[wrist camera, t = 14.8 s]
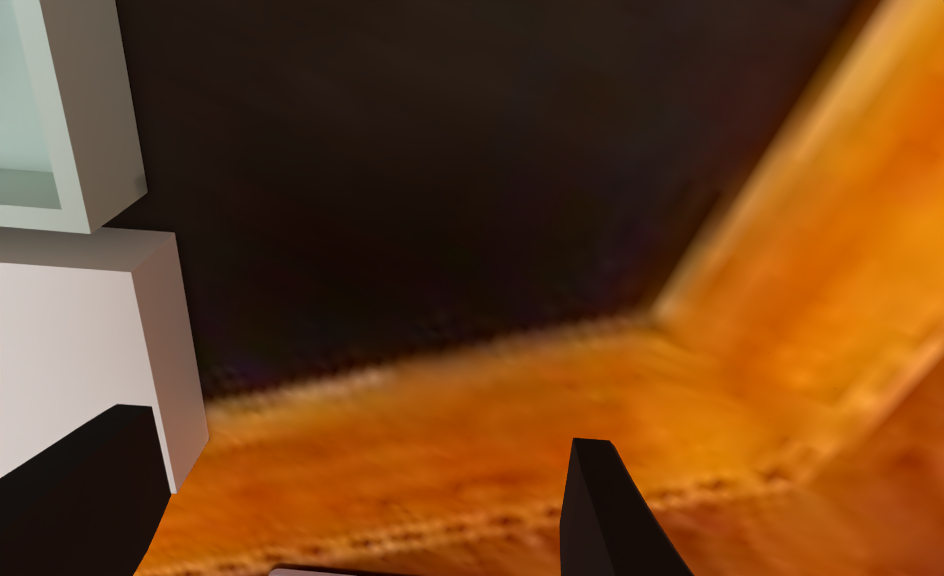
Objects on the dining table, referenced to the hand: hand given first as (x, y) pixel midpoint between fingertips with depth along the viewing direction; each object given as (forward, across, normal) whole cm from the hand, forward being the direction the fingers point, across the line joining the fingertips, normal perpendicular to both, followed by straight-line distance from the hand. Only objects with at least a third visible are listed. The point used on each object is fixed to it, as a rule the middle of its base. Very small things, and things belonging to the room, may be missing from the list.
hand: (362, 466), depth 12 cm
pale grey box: (+10, +11, +4) cm, 15 cm away
